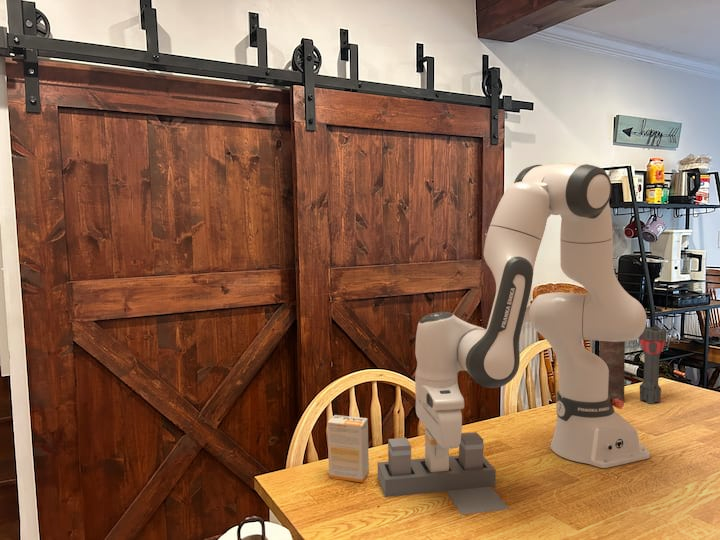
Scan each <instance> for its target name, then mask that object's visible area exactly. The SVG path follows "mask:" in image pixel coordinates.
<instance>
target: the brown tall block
mask: <svg viewBox="0 0 720 540" xmlns="http://www.w3.org/2000/svg"><path fill="white" fill-rule="evenodd" d="M598 342H599V344H598V351H599V352H598V357H600V358H601V359H602V360H603V361H604V362H605V363H606V364H607V366H608V369H609V381H608V396H610V397H612V398H613V400H614V399H619V400H620V401H623V403H625V358H626V357H625V356H626V355H625V354H626V353H625V350H626V347H625V345H626V343H625V342H626V341H621V342H608V341H598Z"/></svg>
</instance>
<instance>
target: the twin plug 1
mask: <svg viewBox="0 0 720 540" xmlns="http://www.w3.org/2000/svg"><path fill="white" fill-rule="evenodd" d="M387 442H388V443H387V449H388V450H387V452H388V454H387V455H388V456H387V462H388V474H389V476H401V475H411V459H412V445H411V443H410V441H409V440H408V438H407V437H399V438H388V439H387Z"/></svg>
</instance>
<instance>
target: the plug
mask: <svg viewBox="0 0 720 540" xmlns="http://www.w3.org/2000/svg"><path fill="white" fill-rule="evenodd" d="M424 429H425V428H424ZM436 445H437V443H436V439H435V438H434V437H433V436H432V434H431V433H430V432H429V430H428V429H427V428H426V429H425V430H424V447H425V448H424V458H425V464H426V466H427V467H428V469H429V470H430V472H441V471H449V456H450V449H445V457H444V458H439V459H438V458H437V457H436V455H435V448H436Z"/></svg>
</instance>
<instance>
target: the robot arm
mask: <svg viewBox="0 0 720 540" xmlns="http://www.w3.org/2000/svg"><path fill="white" fill-rule="evenodd" d="M612 188H613V187H612V182H611V179H610V177H609V175H608V173H607V172H606V170H605V169H603V168H602V167H599V166H597V165H592V164H587V163H586V164H585V163H584V164H576V163H567V162H566V163H565V162H563V163H561V162H560V163H554V164H553V163H552V164H544V165H543V164H534V165H531V166H528V167H526V168H523V169H522V170H520V172H519V173H518V175H517V177H516V178H515V180H514V181H513V183H512V184H510V185H509V186H508V187H507V188H506V189H505V191H504V193H503V195H502V197H501V198H500V200H499V203H497V204H498V205H497V207H496V208H495V212H494V214H493V216H492V218H491V222H490V224H489V227H488V230H487V233H486V236H485V241H484V248H483V257H484V260H485V261H484V262H485V263H486V265H487V266H488V267H489V269H490V271H491V273H492V276H493V278H494V282H495V296H494V299H493V303H492V306H491V311H490V315H489V319H488V323H487V327H486V328H484V327H482V326H478V325H476V324H471V323H469V322H467V321H465V320H462V319H461V318H459V317H457V316H456V315H455V314H454V313H452V312H449V311H437V312H432V313H428V314H426V315H424V316H423V317H422V318H420V319H419V321H418V324H417V327H416V328H417V329H416V332H415V333H416V334H415V352H414V354H415V358H416V362H417V363H416V369H415V372H414V373H415V378H414V379H415V380H414V381H415V382H414V383H415V385H414V386H415V390H414V391H415V392H414V393H415V395H414V396H415V413H416V416H417V418H418V419H419V420H420V422H421V423H422V424H423V425H424V429H426V428H427V429H428V430H429V432H430V433H431V434H432V436H433V437H434V438H435V439H436V443H437V445H436V448H435V455H436V457H437V458H438V459H439V458H444V457H445V449H449V450H451V449H457V448H458V449H459V445H460V442H461V433H463V432H462V430H463V429H462V428H463V415H462V410H463V409H465V399H464V396H463V394H462V393H461V391H460V388H459V384H458V373H460V372H461V371H463V372H464V371H466V373H468V374H469V375H470V377H471V378H472V379H473V380H474V381H475V382H476V384H478V385H479V386H481V387H483V388H487V389H497V388H501V387H503V386H505V385H507V384H508V383H510V382H511V381H513V379H514V378H515V377H516V375H517V373H518V372H519V368H520V363H521V362H520V361H521V360H520V359H521V358H520V356H521V355H520V337H521V331H522V328H523V325H524V324H523V323H524V321H525V317H526V313H527V307H528V305H529V300H530V295H531V291H532V286H533V279H534V270H535V264H536V261H537V256H538V253H539V249H540V246H541V244H542V241H543V237H544V234H545V230H546V226H547V222H548V219H549V217H551V215H554V216H560V218H561V221H560V235H559V237H560V245H559V248H560V249H559V250H560V251H559V253H560V255H559V256H560V258H559V259H560V268H561V271H562V272H563V274H564V275H565V276H566V277H568V278H569V279H570V280H572V281H574V282H576V283H579V284H580V285H581V286H583V288H585V289H586V291H587V293H580V292H578V293H577V292H564V291H563V292H561V291H560V292H559V291H558V292H557V291H556V292H548V293H542V294H539V295H537V296H536V297H535V298H534V299H533V300H532V302H531V305H530V307H529V312H528V313H529V314H528V315H529V316H528V317H529V321H530V323H531V325H532V327H533V329H534V330H535V331H536V332H537V333H539V334H540V335H541V336H542V337H543V338H544V339H545V340H546V341H547V342H548V344H549V345H550V347H551V349H552V350H553V352H554V354H555V358H556V361H557V368H558V391H557V392H556V405H555V406H556V415H557V416H556V422H555V429H554V432H553V433H554V434H553V437H552V440H551V443H550V445H549V446H550V449H551V451H552V452H554V453H555V454H556V455H558V456H559V457H562V458H564V459H566V460H570V461H573V462H576V463H581V464H582V463H583V464H588V465H591V466H594V467H596V468H601V469H606V468H607V469H608V468H612V467H616V466H621V465H626V464H629V463H634V462H638V461H643V460H648V459H650V458H651V455H650V451H649V449H647V448H646V447H645V445H643V444H642V443H640V438H639V433H638V431H637V429H636V428H635V426H634V425H633V424H631V423H630V422H629V421H627V420H626V419H625V418H623V416H622V415H620V414H619V413H617V411H615V409H614V407H615V408H617V409H618V410H621V409H623V408H624V407H625V402H623V401H620V400H619V399H614V400H613V398H612V397H610V396H608V381H609V369H608V366H607V364H606V363H605V362H604V361H603V360H602V359H601V358H600V357H599V355H597V354H595V353H593V352H591V351H589V350H588V349H587V348H586V347H585V346H584V344H583V341H582V340H589V341H598V342H599V341H608V342H621V341H625V342H630V341H636V340H637V339H639V338H638V337H640V335H641V334H642V333H643V331H644V330H645V327H646V326H647V320H648V319H647V314H646V310H645V308H644V307H643V305H642V303H640V301H639V300H637V299H636V298H635V297H633V296H632V295H630V294H629V293H628V292H627V290H625V289H624V287H623V286H622V285H621V283H620V282H619V280H618V277H617V275H616V273H615V269H614V259H613V257H614V255H613V219H612V212H611V206H610V201H611V200H610V199H611V196H612V191H613V190H612Z"/></svg>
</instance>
